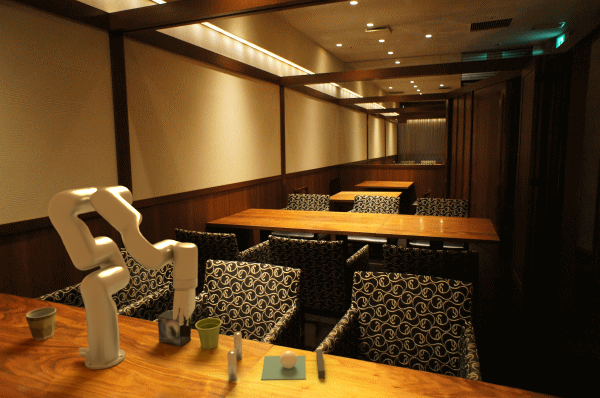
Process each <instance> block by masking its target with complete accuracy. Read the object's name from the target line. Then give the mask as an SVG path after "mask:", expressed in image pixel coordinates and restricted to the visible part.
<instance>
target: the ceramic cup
mask: <svg viewBox="0 0 600 398" xmlns="http://www.w3.org/2000/svg"><path fill="white" fill-rule="evenodd" d="M25 319H26V321H27V322H26V323H27V325H28V327H29V331H30V333H31V337H32V339H33V340H35V341H37V340H38V341H45V340H48V339H50V337H51V336H52V335H53V336H54V334H55V326H56V319H57V308H55V307H54V306H53V307H51V306H47V307H41V308H40V307H39V308H36V309H33V310H31V311H28V312H27V313H26V314H25ZM53 336H52V337H53ZM52 337H51V338H52ZM47 338H48V339H47ZM44 339H45V340H44Z"/></svg>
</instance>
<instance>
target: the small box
mask: <svg viewBox="0 0 600 398" xmlns="http://www.w3.org/2000/svg"><path fill="white" fill-rule="evenodd" d="M157 327H158V328H157V329H158V331H157V332H158V342H159V343H162V344H167V345H172V346H176V347H179V346H180V348H182V347H183V346H185V345H186V344H187V343H188V341H189V342H190V341H191V340H192V338H191V337H192V336H191V335H192V334H191V335H190V336H189V337H180V325H179V316H178V317H177V319H175V320H174V319H173V310H170V309H168V310H166V311H164V312H162V313H161V314H159V315H158V316H157Z"/></svg>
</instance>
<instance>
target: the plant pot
mask: <svg viewBox="0 0 600 398" xmlns="http://www.w3.org/2000/svg"><path fill="white" fill-rule="evenodd" d="M222 323H223V321H222V320H221V319H219V318H217V317H207V318H203V319H201V320H198V321H197V322H196V323H195V325H194V326H195V328H196V330H197V333H198V337H199V343H200V346H201V348H202V349H203V350H211V349H215V348H216V347H218V346H219V340H220V339H219V338H220V328H221V326H222Z"/></svg>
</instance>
